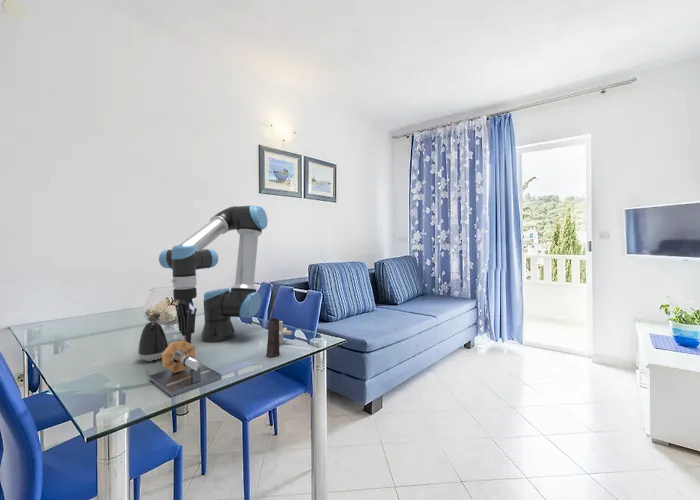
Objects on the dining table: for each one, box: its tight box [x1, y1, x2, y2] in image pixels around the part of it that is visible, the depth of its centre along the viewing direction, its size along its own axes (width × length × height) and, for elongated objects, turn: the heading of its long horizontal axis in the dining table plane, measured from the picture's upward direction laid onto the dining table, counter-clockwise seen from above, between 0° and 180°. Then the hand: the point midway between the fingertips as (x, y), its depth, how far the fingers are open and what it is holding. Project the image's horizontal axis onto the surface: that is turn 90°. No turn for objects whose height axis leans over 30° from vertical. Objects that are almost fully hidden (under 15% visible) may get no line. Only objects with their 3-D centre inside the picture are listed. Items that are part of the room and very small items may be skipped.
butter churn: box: [266, 285, 281, 358], centre depth 129 cm, size 9×10×28 cm
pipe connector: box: [279, 320, 293, 345], centre depth 144 cm, size 10×10×10 cm
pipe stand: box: [148, 350, 222, 398], centre depth 109 cm, size 19×16×9 cm
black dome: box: [137, 320, 169, 362], centre depth 128 cm, size 10×10×15 cm
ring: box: [161, 339, 196, 373], centre depth 112 cm, size 2×10×10 cm, turn 139°
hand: (187, 351), depth 118 cm, fingers closed
